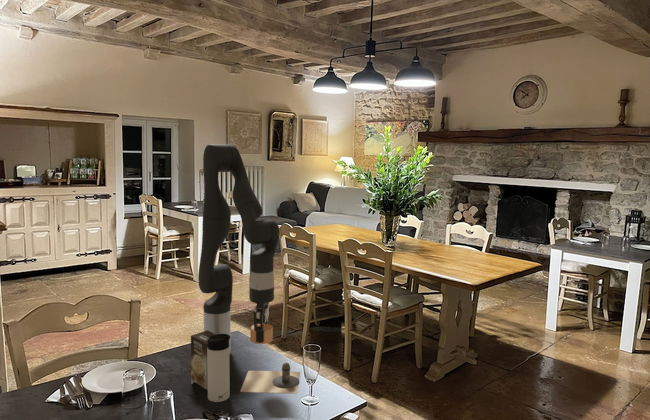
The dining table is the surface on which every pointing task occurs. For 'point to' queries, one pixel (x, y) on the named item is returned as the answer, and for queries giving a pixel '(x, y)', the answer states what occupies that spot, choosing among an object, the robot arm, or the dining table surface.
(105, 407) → the dining table surface
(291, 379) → the post board
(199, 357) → the coffee box
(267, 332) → the ring
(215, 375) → the travel mug
